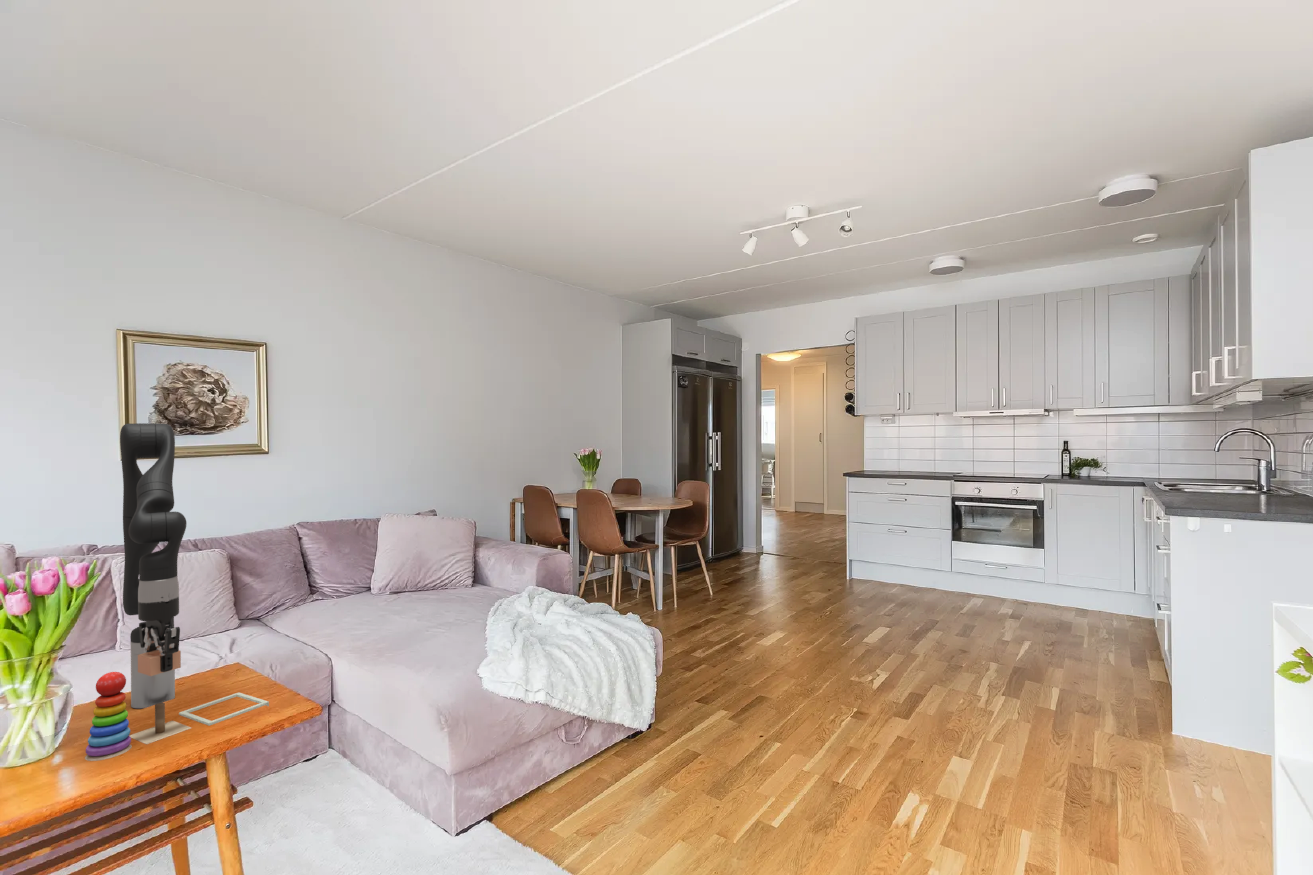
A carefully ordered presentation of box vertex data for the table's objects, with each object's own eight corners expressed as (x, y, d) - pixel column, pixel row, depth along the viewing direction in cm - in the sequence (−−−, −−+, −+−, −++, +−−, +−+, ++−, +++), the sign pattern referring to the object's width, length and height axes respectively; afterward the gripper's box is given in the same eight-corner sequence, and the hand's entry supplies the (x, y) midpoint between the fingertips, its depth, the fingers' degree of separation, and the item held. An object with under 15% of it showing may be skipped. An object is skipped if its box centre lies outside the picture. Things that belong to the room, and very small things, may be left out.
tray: (179, 720, 155) (178, 712, 155) (238, 699, 167) (238, 692, 167) (209, 731, 148) (209, 723, 148) (269, 709, 161) (268, 701, 161)
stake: (127, 742, 144) (127, 707, 144) (172, 726, 152) (172, 693, 152) (146, 750, 139) (146, 715, 140) (191, 733, 147) (191, 700, 148)
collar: (137, 671, 145) (137, 654, 145) (172, 662, 151) (172, 645, 151) (150, 676, 142) (150, 658, 142) (185, 666, 148) (185, 649, 148)
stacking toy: (104, 769, 132) (103, 680, 132) (74, 766, 133) (73, 678, 133) (141, 751, 139) (141, 667, 140) (113, 748, 141) (112, 665, 141)
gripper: (124, 597, 146) (125, 669, 146) (155, 604, 139) (156, 679, 139) (162, 590, 153) (162, 659, 153) (193, 596, 146) (193, 668, 146)
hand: (159, 668), depth 146 cm, fingers closed on collar, 6 cm apart
